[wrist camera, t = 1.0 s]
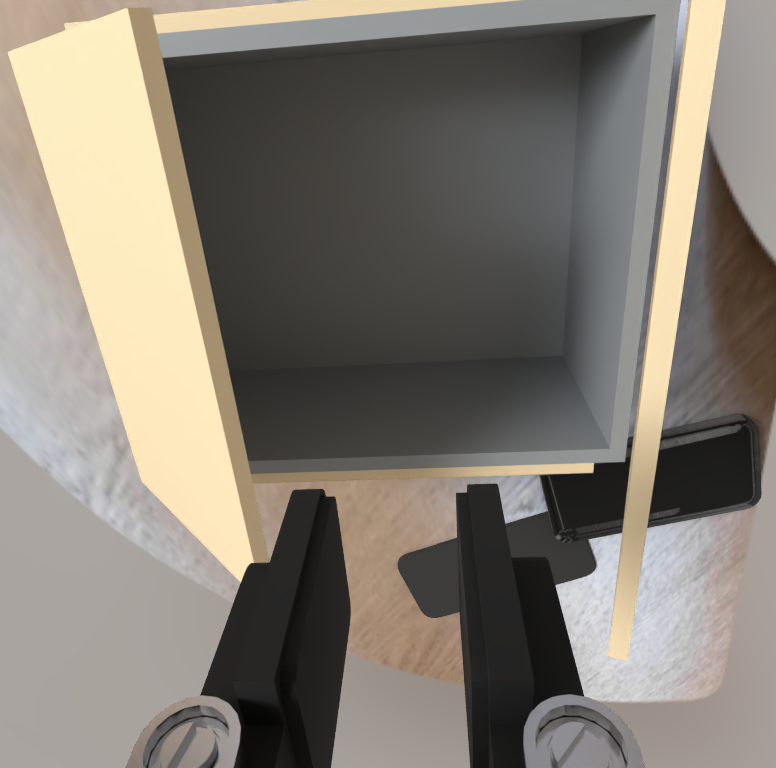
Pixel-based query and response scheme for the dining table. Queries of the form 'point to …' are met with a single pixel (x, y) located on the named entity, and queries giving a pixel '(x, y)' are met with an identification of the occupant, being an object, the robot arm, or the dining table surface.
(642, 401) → the carton flap
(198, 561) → the dining table surface
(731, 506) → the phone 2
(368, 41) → the carton
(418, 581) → the phone
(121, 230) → the carton flap
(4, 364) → the dining table surface
